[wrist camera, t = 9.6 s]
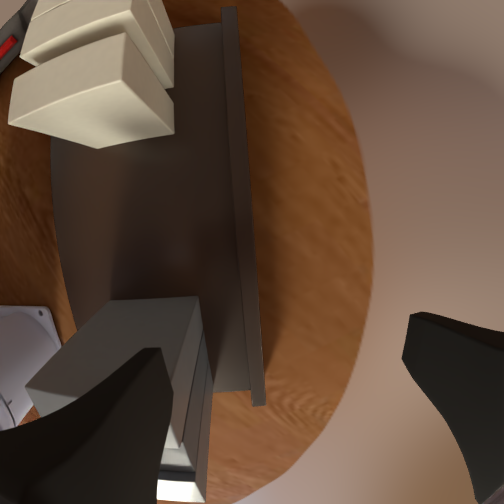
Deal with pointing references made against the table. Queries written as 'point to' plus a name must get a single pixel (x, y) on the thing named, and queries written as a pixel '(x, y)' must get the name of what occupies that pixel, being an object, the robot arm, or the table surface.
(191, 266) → the book board
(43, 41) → the cream books
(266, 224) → the table surface
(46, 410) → the grey books
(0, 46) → the flashlight
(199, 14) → the table surface
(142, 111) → the cream book
